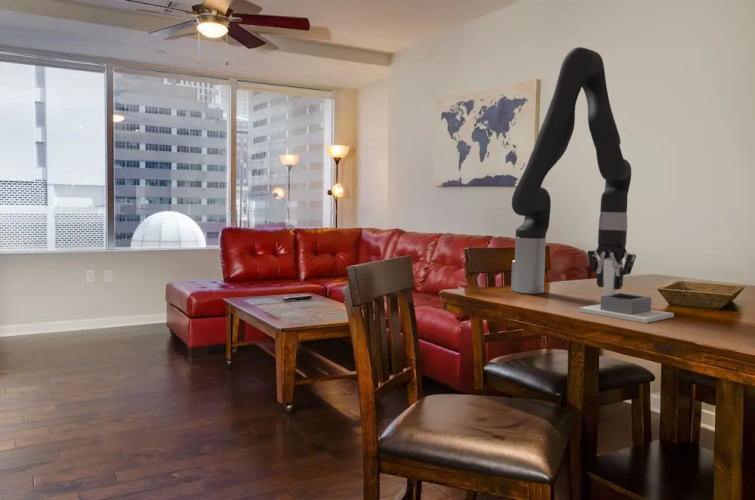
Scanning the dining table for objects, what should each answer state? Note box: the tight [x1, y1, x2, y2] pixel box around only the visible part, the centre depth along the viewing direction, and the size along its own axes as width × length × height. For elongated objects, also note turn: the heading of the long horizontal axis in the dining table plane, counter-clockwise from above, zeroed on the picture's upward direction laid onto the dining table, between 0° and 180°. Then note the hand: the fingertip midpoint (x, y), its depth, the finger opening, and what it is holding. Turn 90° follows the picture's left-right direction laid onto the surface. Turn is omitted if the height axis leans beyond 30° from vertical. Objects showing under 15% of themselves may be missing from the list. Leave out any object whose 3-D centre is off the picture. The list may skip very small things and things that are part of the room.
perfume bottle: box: [602, 258, 620, 296], centre depth 170 cm, size 5×4×15 cm
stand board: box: [578, 303, 675, 324], centre depth 153 cm, size 18×14×1 cm
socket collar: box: [600, 292, 652, 315], centre depth 153 cm, size 8×9×4 cm
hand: (609, 287), depth 170 cm, fingers closed on perfume bottle, 4 cm apart
